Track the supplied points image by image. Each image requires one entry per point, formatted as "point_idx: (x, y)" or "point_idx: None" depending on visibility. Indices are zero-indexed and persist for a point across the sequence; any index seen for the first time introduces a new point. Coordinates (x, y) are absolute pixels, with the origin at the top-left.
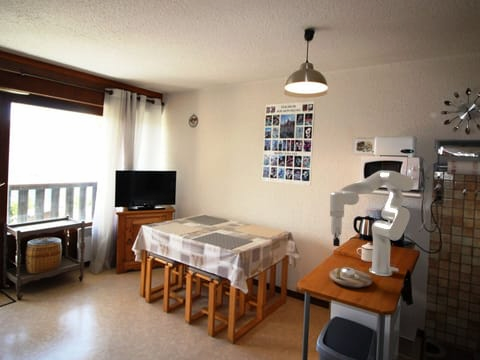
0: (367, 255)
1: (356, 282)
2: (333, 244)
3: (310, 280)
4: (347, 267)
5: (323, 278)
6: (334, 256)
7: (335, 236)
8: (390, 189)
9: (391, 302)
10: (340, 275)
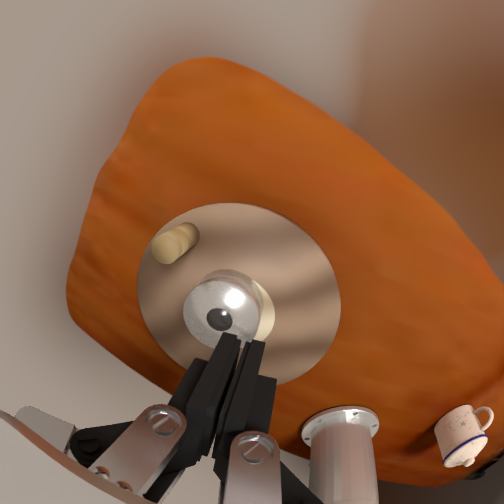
0: (449, 431)
1: (150, 304)
2: (248, 344)
3: (241, 96)
4: (254, 328)
5: (276, 172)
6: None
7: (78, 438)
8: None
9: (103, 345)
10: (226, 262)
